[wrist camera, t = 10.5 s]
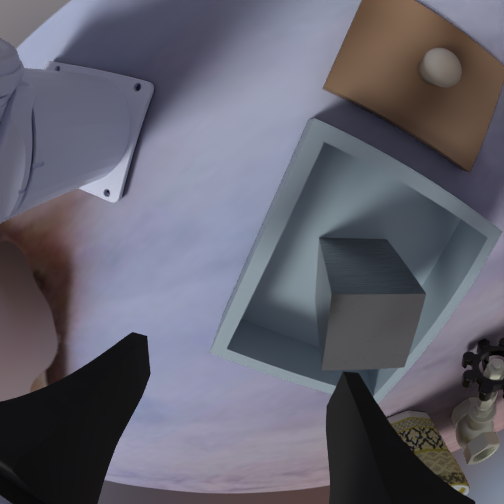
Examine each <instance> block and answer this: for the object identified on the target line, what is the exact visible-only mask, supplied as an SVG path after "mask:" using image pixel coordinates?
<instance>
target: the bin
mask: <svg viewBox="0 0 504 504" xmlns="http://www.w3.org/2000/svg"><path fill="white" fill-rule="evenodd" d="M501 233H502V231H501V230H500V229H498V228H497V227H496V226H495V225H493V224H492V223H491V222H489V221H488V220H487V219H485V218H484V217H483V216H481V215H480V214H479V213H477V212H476V211H475V210H473V209H472V208H471V207H469V206H468V205H466V204H465V203H463V202H462V201H461V200H459V199H458V198H456V197H455V196H453V195H452V194H450V193H449V192H447V191H446V190H444V189H443V188H441V187H440V186H438V185H437V184H435V183H434V182H432V181H431V180H429V179H427V178H426V177H424V176H423V175H421V174H419V173H418V172H416V171H415V170H413V169H411V168H410V167H408V166H406V165H404V164H403V163H401V162H399V161H398V160H396V159H394V158H392V157H391V156H389V155H387V154H385V153H383V152H382V151H380V150H378V149H376V148H374V147H372V146H371V145H369V144H367V143H365V142H363V141H361V140H359V139H357V138H355V137H353V136H351V135H349V134H347V133H345V132H343V131H341V130H339V129H337V128H335V127H333V126H331V125H329V124H327V123H324V122H322V121H320V120H318V119H316V118H313V119H310V120H308V123H307V125H306V127H305V129H304V132H303V134H302V136H301V138H300V141H299V143H298V145H297V147H296V150H295V152H294V154H293V156H292V159H291V161H290V163H289V165H288V168H287V170H286V172H285V175H284V177H283V179H282V181H281V184H280V186H279V188H278V190H277V193H276V195H275V197H274V199H273V202H272V204H271V206H270V208H269V211H268V213H267V215H266V218H265V220H264V222H263V224H262V227H261V229H260V231H259V233H258V236H257V238H256V240H255V242H254V245H253V247H252V249H251V252H250V254H249V256H248V258H247V261H246V263H245V265H244V267H243V270H242V272H241V274H240V277H239V279H238V281H237V283H236V286H235V288H234V290H233V292H232V295H231V297H230V299H229V301H228V304H227V306H226V308H225V311H224V313H223V315H222V318H221V321H220V324H219V327H218V330H217V332H216V335H215V338H214V341H213V344H212V347H211V350H210V353H212V354H214V355H217V356H219V357H222V358H225V359H227V360H230V361H233V362H235V363H238V364H241V365H243V366H246V367H249V368H252V369H254V370H257V371H260V372H263V373H266V374H269V375H272V376H275V377H278V378H281V379H284V380H287V381H290V382H293V383H296V384H299V385H303V386H306V387H309V388H312V389H316V390H319V391H323V392H326V393H330V394H333V392H334V390H335V388H336V386H337V383H338V381H339V379H340V377H341V375H342V372H343V371H345V372H356V373H359V374H360V376H361V378H362V379H363V381H364V383H365V384H366V386H367V388H368V389H369V391H370V393H371V394H372V396H373V397H374V399H375V401H376V402H377V404H378V402H379V401H380V400H381V399H382V398H383V397H384V396H385V395H386V394H387V393H388V392H389V391H390V390H391V389H392V388H393V387H394V386H395V384H396V383H397V382H398V381H399V380H400V379H401V378H402V377H403V376H404V374H405V373H406V372H407V371H408V370H409V369H410V367H411V366H412V365H413V364H414V363H415V362H416V360H417V359H418V358H419V357H420V356H421V354H422V353H423V352H424V351H425V349H426V348H427V347H428V346H429V344H430V343H431V342H432V340H433V339H434V338H435V337H436V335H437V334H438V333H439V331H440V330H441V329H442V327H443V326H444V325H445V323H446V322H447V320H448V319H449V318H450V316H451V315H452V313H453V312H454V311H455V309H456V308H457V306H458V305H459V303H460V302H461V300H462V299H463V297H464V296H465V294H466V293H467V291H468V290H469V288H470V287H471V285H472V284H473V282H474V280H475V279H476V277H477V275H478V274H479V272H480V271H481V269H482V267H483V266H484V264H485V262H486V260H487V259H488V257H489V255H490V253H491V252H492V250H493V248H494V246H495V244H496V242H497V241H498V239H499V237H500V235H501ZM319 237H323V238H364V239H387V240H388V241H389V243H390V244H391V245H392V247H393V248H394V249H395V250H396V252H397V253H398V255H399V256H400V257H401V259H402V260H403V261H404V263H405V264H406V265H407V267H408V268H409V270H410V271H411V272H412V274H413V275H414V277H415V278H416V279H417V281H418V282H419V284H420V285H421V287H422V288H423V290H424V291H425V293H426V297H425V301H424V305H423V309H422V312H421V316H420V319H419V323H418V326H417V330H416V333H415V336H414V340H413V343H412V346H411V349H410V352H409V355H408V358H407V361H406V364H405V367H402V368H387V369H368V370H328V371H322V369H321V357H320V346H319V336H318V326H317V316H316V307H315V289H316V275H317V260H318V243H319Z"/></svg>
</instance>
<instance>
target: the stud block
mask: <svg viewBox="0 0 504 504" xmlns="http://www.w3.org/2000/svg"><path fill="white" fill-rule="evenodd" d="M503 82H504V66H503V65H502V64H501V63H500V62H499V61H498V60H497V59H495V58H494V57H493V56H492V55H491V54H490V53H488V52H487V51H486V50H485V49H484V48H482V47H481V46H480V45H479V44H477V43H476V42H475V41H474V40H472V39H471V38H470V37H468V36H467V35H466V34H464V33H463V32H462V31H460V30H459V29H458V28H456V27H455V26H453V25H452V24H451V23H449V22H448V21H446V20H445V19H443V18H442V17H440V16H439V15H437V14H436V13H434V12H433V11H431V10H430V9H428V8H426V7H425V6H423V5H421V4H420V3H418V2H416V1H415V0H362V1H361V3H360V5H359V8H358V10H357V12H356V14H355V17H354V19H353V21H352V23H351V26H350V28H349V30H348V32H347V35H346V37H345V39H344V41H343V44H342V46H341V48H340V50H339V53H338V55H337V57H336V59H335V62H334V64H333V66H332V68H331V71H330V73H329V75H328V77H327V80H326V82H325V84H324V86H323V89H324V90H326V91H328V92H331V93H333V94H335V95H337V96H339V97H341V98H343V99H345V100H347V101H349V102H351V103H353V104H355V105H357V106H359V107H361V108H363V109H365V110H367V111H369V112H371V113H373V114H374V115H376V116H378V117H380V118H382V119H384V120H385V121H387V122H389V123H391V124H392V125H394V126H396V127H398V128H399V129H401V130H403V131H404V132H406V133H408V134H409V135H411V136H413V137H414V138H416V139H417V140H419V141H421V142H422V143H424V144H425V145H427V146H428V147H430V148H431V149H433V150H435V151H436V152H437V153H439V154H440V155H442V156H443V157H445V158H446V159H448V160H449V161H451V162H452V163H453V164H455V165H456V166H458V167H459V168H460V169H462V170H464V171H467V172H470V171H471V169H472V167H473V164H474V162H475V160H476V157H477V155H478V153H479V150H480V148H481V145H482V143H483V140H484V138H485V135H486V132H487V130H488V127H489V124H490V122H491V119H492V116H493V113H494V110H495V107H496V104H497V101H498V98H499V95H500V92H501V89H502V85H503Z"/></svg>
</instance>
